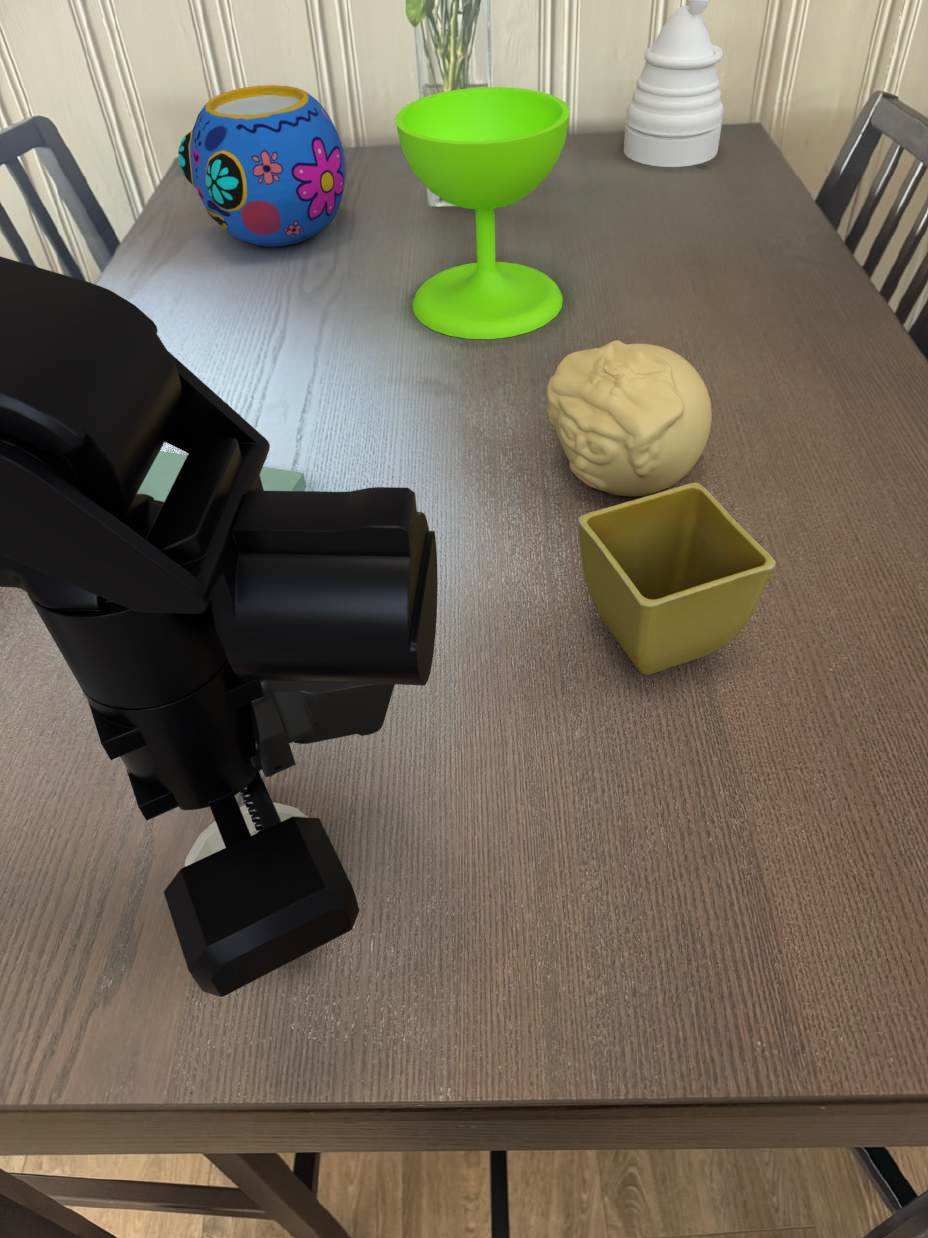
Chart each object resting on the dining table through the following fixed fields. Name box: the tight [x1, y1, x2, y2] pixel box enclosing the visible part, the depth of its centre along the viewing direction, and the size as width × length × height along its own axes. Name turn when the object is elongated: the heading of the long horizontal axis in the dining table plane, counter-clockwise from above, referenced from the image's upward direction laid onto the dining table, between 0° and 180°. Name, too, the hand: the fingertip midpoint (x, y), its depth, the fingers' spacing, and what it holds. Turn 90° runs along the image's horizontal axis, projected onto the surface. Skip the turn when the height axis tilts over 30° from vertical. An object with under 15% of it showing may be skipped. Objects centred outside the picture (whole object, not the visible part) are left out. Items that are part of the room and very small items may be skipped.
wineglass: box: [394, 86, 571, 340], centre depth 86 cm, size 16×16×18 cm
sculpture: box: [546, 339, 713, 498], centre depth 67 cm, size 12×12×11 cm
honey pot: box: [623, 0, 725, 168], centre depth 114 cm, size 13×13×18 cm
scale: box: [137, 450, 307, 502], centre depth 68 cm, size 15×13×3 cm
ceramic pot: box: [177, 84, 347, 247], centre depth 101 cm, size 18×18×15 cm
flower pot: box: [577, 482, 777, 676], centre depth 55 cm, size 9×9×9 cm
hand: (250, 858), depth 43 cm, fingers open, 9 cm apart
